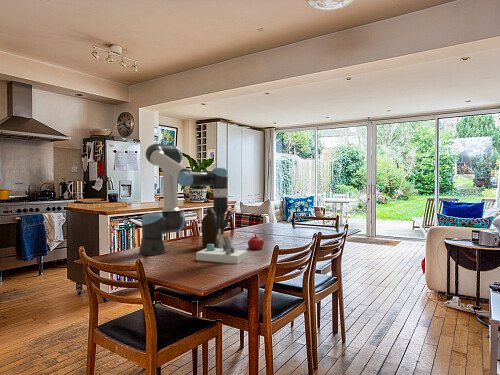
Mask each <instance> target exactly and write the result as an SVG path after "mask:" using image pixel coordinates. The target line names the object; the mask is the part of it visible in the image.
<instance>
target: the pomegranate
mask: <svg viewBox="0 0 500 375" xmlns="http://www.w3.org/2000/svg"><path fill="white" fill-rule="evenodd" d="M261 237H262V236H257V234H256V233H254V235H251V237H250V239H248V241H247V247H248V248H249V249H250V250H261V249H262V248H263V247H264V239H263V238H261Z"/></svg>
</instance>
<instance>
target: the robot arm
mask: <svg viewBox="0 0 500 375" xmlns="http://www.w3.org/2000/svg"><path fill="white" fill-rule="evenodd" d="M145 150H146V151H145V155H144V156H145V158H146V160H147V161H148V162H149V163H150V164H152V165H153V166H158V167H159V168H160V169H161V170H162V191H163V192H162V194H163V196H162V197H163V209H162V210H161V211H156V212H148V213H145V214H143V215H142V216H141V217H142V218H141V243H140V246H139V248H138V254H139V255H141V254H142V256H156V255H163V254H165V253H166V252H167V249H166V245H165V242H164V239H163V238H164V237H163V235H164V234H169V233H170V234H171V233H176V232H177V233H178V232H180V231H182V230H183V228H184V227H185V223H186V217H185V215H184V213H183V212H182V211H181V209H180V208H179V200H178V199H179V196H178V195H179V194H178V184H179V186H182V187H199V186H200V187H202V186H203V187H206V186H207V187H209V186H210V187H211V186H212V187H213V202H212V203H213V206H212V207H211V208H212V209H211V210H209V212H210V214H211V217H212V221H213V225H214V227H215V228H217V236H218V238H219V241H222V236H221V235H222V234H225V229H226V228H228V224H229V221H230V217H231V214H232V212H233V210H231V209H230V208H229V206H228V204H229V203H228V200H229V199H228V178H229V175H228V169H227V168H226V167H214V168H213V171H191V170H189V169H188V168H187V167H185V166H184V165H182V164H181V163H182V161H183V151H182V149H181V148H180V147H179V146H177V145H173V144H163V143H153V144H151V145H148V147H147V148H146V149H145ZM216 218H217V221H216Z"/></svg>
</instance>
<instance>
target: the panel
mask: <svg viewBox="0 0 500 375" xmlns="http://www.w3.org/2000/svg"><path fill="white" fill-rule="evenodd" d="M231 248H232V252H231V249H226V250H223V249H219V248H217V247H214V251H207V248H204V249H202V250H199V251H197V252H196V253H195V257H196V259H195V260H196V261H203V262H204V261H205V262H214V263H225V264H236V265H238V264H241V262H243V261H245V260H246V259H248V250H242V249H241V250H240V249H235V247H234V246H231Z"/></svg>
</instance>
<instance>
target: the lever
mask: <svg viewBox="0 0 500 375" xmlns="http://www.w3.org/2000/svg"><path fill="white" fill-rule="evenodd" d="M221 236H222V237H223V239H224V242H225V246H226V249H231V252H232V248H231V247H232V244H231V245H230V243H231V241H230V242H229V238H230V237H229V238H228V236H229V232H224V234H222V235H221Z"/></svg>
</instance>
